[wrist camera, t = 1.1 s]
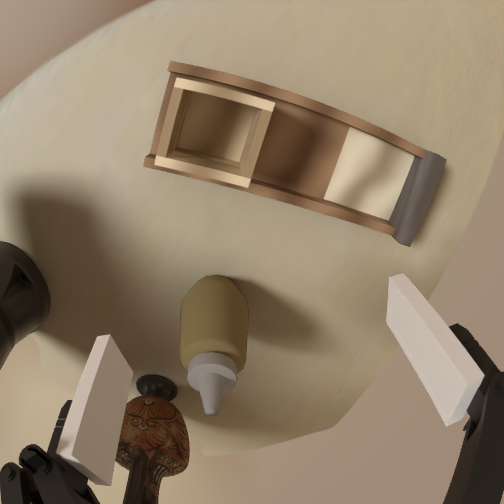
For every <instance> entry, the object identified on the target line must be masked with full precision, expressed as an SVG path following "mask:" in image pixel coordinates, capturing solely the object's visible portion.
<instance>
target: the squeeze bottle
mask: <svg viewBox="0 0 504 504" xmlns="http://www.w3.org/2000/svg"><path fill="white" fill-rule="evenodd" d="M248 319H249V310H248V304H247V301H246V299H245V298H244V297H243V295H242V294H241V292H240V291H239V290H238V288H237V287H236V286H235V284H234V283H233V282H232V281H231V280H229V279H227V278H226V277H223V276H218V275H212V276H206V277H204V278H202V279H201V280H199V281H198V282H197V283H196V284H195V285H194V286H193V287H192V288H191V289H190V290H189V292H188V293H187V294H186V296H185V297H184V298H183V300H182V305H181V313H180V361H181V363H182V366H183V368H184V369H185V370H186V371H187V372H188V375H187V380H188V382H189V385H190V386H191V387H193V388H194V389H195V390H196V391H199V392H200V394H201V399H202V403H203V408H204V412H205V413H206V414H207V415H211V416H213V415H217V414H218V411H219V408H220V404H221V401H222V397H223V393H225V392H228V391H230V390H231V389H232V388H233V387H235V385H236V382H237V374H238V373H239V372H240V371H241V370H242V369H243V367H244V364H245V362H246V350H247V334H248Z"/></svg>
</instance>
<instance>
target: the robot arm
mask: <svg viewBox="0 0 504 504" xmlns="http://www.w3.org/2000/svg"><path fill="white" fill-rule="evenodd" d="M49 308H50V298H49V293H48V289H47V286H46V283H45V281H44V279H43V277H42V275H41V273H40V272H39V270H38V269H37V267H36V266H35V265H34V263H33V262H32V261H31V260H30V259H29V258H28V257H27V256H26V255H25V254H24V253H23V252H22V251H21V250H19V249H18V248H16V247H15V246H13V245H11V244H8V243H5V242H0V369H1V367H2V366H3V364H4V362H5V360H6V359H7V357H8V355H9V353H10V352H11V350H12V349H13V347H14V345H15V344H17V343H18V342H19V341H20V340H22V339H23V338H25V337H26V336H27V335H29V334H31V333H33V332H34V331H36V330H37V329H38V328H39V327H40V326H41V325H42V323H43V322H44V320H45V319H46V317H47V315H48V313H49ZM386 323H387V325H388V326H389V328H390V329H391V331H392V333H393V334H394V336H395V338H396V339H397V341H398V342H399V344H400V346H401V347H402V349H403V351H404V352H405V354H406V356H407V357H408V359H409V360H410V362H411V364H412V366H413V367H414V369H415V371H416V373H417V374H418V376H419V378H420V380H421V381H422V383H423V385H424V387H425V388H426V390H427V392H428V394H429V395H430V397H431V399H432V401H433V403H434V404H435V406H436V408H437V410H438V412H439V414H440V416H441V418H442V419H443V421H444V423H445V425H446V426H449V425H451V424H453V423H455V422H457V421H459V420H461V419H462V418H463V416H464V415H465V413H466V411H467V412H468V414H469V415H470V418H469V420H468V422H467V423H466V425H465V427H464V429H463V431H465V430H466V434H465V437H464V441H463V445H462V448H461V452H460V455H459V459H458V462H457V465H456V468H455V472H454V475H453V478H452V481H451V484H450V487H449V489H448V492H447V494H446V497H445V500H444V502H443V504H500V501H501V498H502V494H503V491H504V372H501V371H500V370H499V369H498V368H497V367H496V365H495V364H494V363H493V361H492V360H491V359H490V357H489V356H488V355H487V353H486V352H485V351H484V350H483V348H482V347H481V346H479V343H478V342H477V341H476V340H474V337H473V336H472V335H471V333H470V332H469V331H468V330H467V329H466V328H464V327H462V326H461V325H459V324H458V323H457V324H454V325H452V326H449V327H448V326H447V325H446V323H445V322H444V321H443V320H442V318H441V317H440V316H439V315H438V313H437V312H436V311H435V310H434V309H433V307H432V306H431V305H430V304H429V303H428V301H427V300H426V299H425V298H424V297H423V295H422V294H421V293H420V292H419V291H418V289H417V288H416V287H415V286H414V285H413V284H412V282H411V281H410V280H409V279H408V278H407V277H406V276H405V274H404V273H402V274H399V275H395V276H391V277H389V289H388V305H387V318H386ZM133 374H134V373H133V371H132V370H131V368H130V366H129V365H128V363H127V362H126V360H125V358H124V357H123V355H122V353H121V352H120V350H119V348H118V347H117V345H116V343H115V342H114V340H113V338H112V336H111V335H102V336H97V338H96V341H95V343H94V346H93V348H92V351H91V353H90V356H89V358H88V361H87V363H86V366H85V368H84V371H83V374H82V376H81V379H80V381H79V384H78V387H77V390H76V392H75V395H74V398H73V400H68V401H67V402H66V403H65V405H64V406H63V407H62V409H61V411H60V414H59V417H58V420H57V423H56V428H55V429H54V432H53V435H52V438H51V441H50V444H49V447H48V451H47V453H46V452H45V451H44V450H43V449H41V448H40V447H39V446H37V445H35V444H31V445H28V446H26V447H25V448H24V449H23V450H22V452H21V453H20V456H19V465H21V466H22V467H23V468H20V467H19V466H18V465H17V464H15V463H13V462H9V463H7V464H5V465H4V466H3V467H2V469H1V471H0V491H1V501H2V504H30V503H31V504H100V503H99V501H98V499H97V498H96V496H95V494H94V493H93V491H92V490H91V488H90V487H89V486H88V485H87V482H88V479H89V480H91V481H92V482H93V483H95V484H98V485H106V486H111V483H112V476H113V470H114V464H115V459H116V453H117V448H118V443H119V437H120V432H121V427H122V422H123V418H124V413H125V408H126V404H127V399H128V395H129V391H130V386H131V382H132V378H133Z"/></svg>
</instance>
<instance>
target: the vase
mask: <svg viewBox="0 0 504 504" xmlns="http://www.w3.org/2000/svg"><path fill="white" fill-rule="evenodd" d="M136 385H137V389H138V391H139V393H140V394H141V395H143V396H139V397H136V398H134V399H132V400H131V401H129V402H128V403H127V404H126V408H125V413H124V418H123V422H122V427H121V432H120V437H119V443H118V448H117V453H116V459H115V461H116V462H117V463H119V464H120V465H121V466H122V467H124V468H126V469H128V470H130V471H129V477H128V482H127V486H126V491H125V495H124V500H123V504H158V495H159V488H160V483H161V480H162V478H163V477H168V476H174V475H176V474H179V473H181V472H183V471H184V470H185V469H186V468H187V466H188V462H189V451H190V449H189V438H188V433H187V428H186V425H185V422H184V419H183V417H182V415H181V413H180V411H179V410H178V409H177V408H176V407H175V406H174V405H173V404H172V403H171V402H169V401H171V400H173V399H174V398H175V397H176V395H177V387H176V385H175V384H174V383H173V382H171V381H170V380H168V379H166V378H164V377H162V376H158V375H145V376H143V377H141V378H139V379H138V380H137V383H136Z"/></svg>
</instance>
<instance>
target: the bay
mask: <svg viewBox="0 0 504 504" xmlns="http://www.w3.org/2000/svg"><path fill="white" fill-rule="evenodd" d="M167 71H169V72H171V74H170V78H169V81H168V84H167V88H166V91H165V95H164V99H163V102H162V106H161V110H160V114H159V118H158V122H157V126H156V130H155V134H154V138H153V143H152V147H151V151H150V154H149V155H147V156H146V157H145V161H144V166H143V167H148V168H152V169H157V170H161V171H166V172H170V173H174V174H179V175H183V176H187V177H191V178H195V179H199V180H203V181H207V182H211V183H215V184H219V185H223V186H227V187H231V188H235V189H239V190H242V191H246V192H250V193H254V194H257V195H261V196H265V197H268V198H272V199H275V200H279V201H282V202H286V203H289V204H293V205H296V206H300V207H303V208H307V209H310V210H313V211H317V212H320V213H323V214H327V215H330V216H333V217H336V218H340V219H343V220H346V221H349V222H352V223H356V224H359V225H362V226H365V227H368V228H371V229H374V230H377V231H380V232H383V233H386V234H389V235H391V236H392V237H393V238H394V239H395V240H396V241H397V242H398V243H399V244H402V245H405V246H408V247H410V245H411V243H412V241H413V239H414V237H415V235H416V233H417V231H418V228H419V226H420V224H421V222H422V220H423V217H424V215H425V213H426V210H427V208H428V206H429V203H430V201H431V199H432V196H433V194H434V192H435V189H436V187H437V184H438V182H439V179H440V176H441V174H442V171H443V169H444V166H445V163H446V161H447V159H445V158H443V157H441V156H440V155H438V154H436V153H433V152H430V151H427V150H425V149H422V148H420V147H418V146H416V145H414V144H412V143H411V142H409V141H407V140H405V139H403V138H401V137H399V136H397V135H395V134H392V133H390V132H388V131H386V130H384V129H382V128H380V127H378V126H375V125H373V124H371V123H369V122H367V121H364V120H362V119H360V118H357V117H355V116H353V115H350V114H348V113H345V112H343V111H341V110H338V109H336V108H333V107H331V106H328V105H325V104H323V103H320V102H317V101H315V100H312V99H309V98H306V97H304V96H301V95H298V94H295V93H292V92H289V91H286V90H283V89H280V88H277V87H274V86H270V85H267V84H264V83H261V82H257V81H254V80H250V79H247V78H243V77H239V76H236V75H232V74H228V73H224V72H220V71H216V70H212V69H207V68H203V67H198V66H194V65H189V64H184V63H179V62H173V61H170V63H169V67H168V70H167ZM176 78H182V79H187V80H192V81H196V82H201V83H205V84H209V85H213V86H218V87H222V88H226V89H229V90H233V91H237V92H241V93H244V94H248V95H251V96H255V97H258V98H262V99H265V100H268V101H271V102H275V105H274V108H273V111H272V114H271V117H270V121H269V124H268V127H267V130H266V133H265V136H264V139H263V142H262V145H261V149H260V152H259V155H258V158H257V161H256V164H255V168H254V171H253V174H252V177H251V180H250V183H249V187H248V188H246V187H243V186H239V185H235V184H231V183H227V182H223V181H220V180H216V179H212V178H208V177H204V176H200V175H196V174H191V173H187V172H183V171H179V170H175V169H170V168H166V167H162V166H157V165H154V163H155V159H156V154H157V150H158V146H159V141H160V137H161V133H162V129H163V125H164V121H165V117H166V113H167V110H168V106H169V102H170V99H171V95H172V91H173V88H174V84H175V81H176Z"/></svg>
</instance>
